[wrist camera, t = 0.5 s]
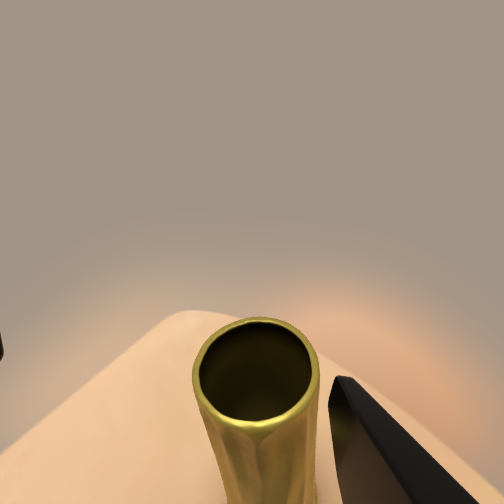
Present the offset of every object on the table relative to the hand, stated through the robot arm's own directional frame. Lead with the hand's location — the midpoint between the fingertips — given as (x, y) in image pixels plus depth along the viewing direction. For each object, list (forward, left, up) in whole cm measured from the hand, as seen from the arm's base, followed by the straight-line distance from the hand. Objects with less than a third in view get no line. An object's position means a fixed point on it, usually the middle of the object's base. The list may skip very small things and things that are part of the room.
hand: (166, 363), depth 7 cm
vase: (+2, -2, -18) cm, 18 cm away
